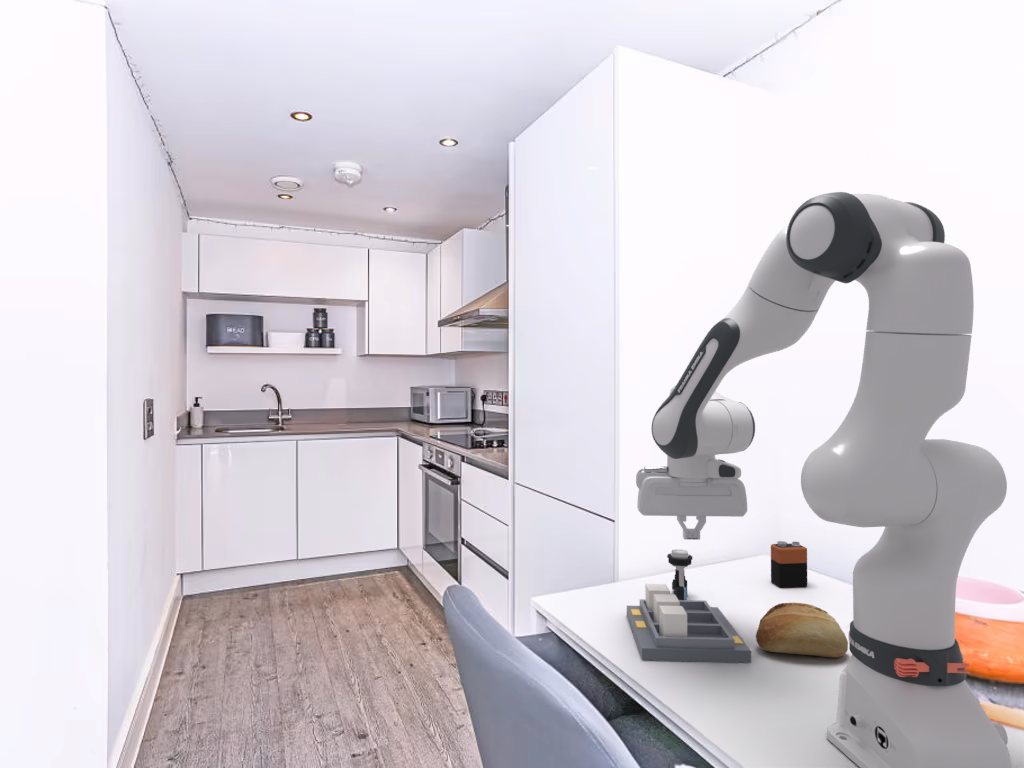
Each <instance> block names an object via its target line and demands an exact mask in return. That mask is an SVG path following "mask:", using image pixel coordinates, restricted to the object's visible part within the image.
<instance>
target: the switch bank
mask: <svg viewBox="0 0 1024 768" xmlns="http://www.w3.org/2000/svg"><path fill="white" fill-rule="evenodd" d="M679 602H680V606H682V607H683V608H684V610H685V612H686V613H687V637H667V636H660V634H659V623H654V611H649V610H647V608H646V598H645V599H642V598H641V599H639V605H626V617H627V621H628V623H629V626H630V629H631V633H632V635H633V638H634V642H635V644H636V646H637V647H636V648H637V650H638V653H639V656H640V658H641V661H656V662H657V661H662V662H663V661H664V662H665V661H666V662H670V661H671V662H701V663H702V662H703V663H704V662H708V663H709V662H710V663H744V664H745V663H748V664H749V663H750V664H751V663H752V650H751V648H750V647H749V646H748V645H747V643H746V642H745V641H744V640H743V638H742V637H741V636H740V634H739V633H738V632H737V631H736V629H735V627H734V626H733V625H732V624H731V622H730V621H729V620H728V619H727V617H726V616H725V615H724V613H723V612H722V611H721V609H719V607H718V606H710V604H709V603H708V601H707V600H699V599H698V600H694V599H693V600H691V599H687V600H679Z"/></svg>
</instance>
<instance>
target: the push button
mask: <svg viewBox="0 0 1024 768" xmlns="http://www.w3.org/2000/svg"><path fill="white" fill-rule="evenodd" d="M666 555H667V556H666V557H667V559H668V564H670V565H671V566H672V567H675V574H674V579H672V582H671V590H672V594H675V595H676V597H677V599H678V600H688V580H687V579H686V576H685V568H688V567H689V566H690V565H692V560H693V556H692V555H691V554H689V551H688V550H685V549H679V548H678V549H672V550H671V553H668V554H666Z"/></svg>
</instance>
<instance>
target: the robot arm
mask: <svg viewBox="0 0 1024 768" xmlns="http://www.w3.org/2000/svg"><path fill="white" fill-rule="evenodd" d="M945 237H946V234H945V228H944V225H943V223H942V221H941V220H940V218H939V216H937V215H936V214H935V213H934V211H932V210H930V209H929V208H927V207H925V206H923V205H921V204H918V203H917V202H916V203H915V202H911V201H901V200H897V199H894V198H889V197H887V196H883V195H880V194H870V193H848V192H844V191H835V192H828V193H823V194H819V195H816V196H814V197H811V198H808V200H806V201H804V202H803V203H801V205H800V206H799V207H798V208H797V209H796V210H795V212H794V213H793V215H792V216H791V218H790V220H789V223H788V226H786V227H783V228H782V229H781V230H779V232H778V233H777V234H776V235H775V237H774V238H773V239H772V241H771V242H770V244H769V245H768V246H767V249H766V250H765V251H764V254H763V255H762V257H761V258H760V260H759V262H758V263H757V266H756V268H755V270H754V271H753V273H752V276H751V278H750V280H749V282H748V284H747V287H746V289H745V290H744V292H743V294H742V295H741V297H740V299H738V301H737V303H736V304H735V305H734V307H732V309H731V310H730V311H729V312H728V313H727V314H726V316H724V317H723V318H722V319H720V320H719V321H718V322H717V323H715V324H714V325H713V326H712V327H711V328H710V329H709V331H708V332H707V334H706V335H705V336H704V338H703V339H702V341H701V343H700V344H699V346H698V348H697V349H696V351H695V353H694V355H693V356H692V357H691V360H690V362H688V364H687V366H686V368H685V370H684V372H683V374H682V375H681V377H680V378H679V380H678V382H677V383H676V385H674V386H673V387H672V388H671V389H670V392H669V396H668V397H667V398H666V399H664V401H663V402H662V403H661V404H660V406H659V407H658V409H656V412H655V414H654V415H653V418H652V422H651V434H652V435H651V436H652V439H653V441H654V443H655V444H656V446H657V447H658V448H659V449H660V450H661V451H662V452H663V453H664V454H665V455H666V456H667V459H666V460H667V461H666V462H667V463H666V466H643V468H641V469H639V470H638V471H637V472H636V476H635V477H636V478H635V482H636V483H635V484H636V487H637V489H638V494H637V502H636V503H637V507H636V508H637V511H638V512H639V513H640V514H641V515H642V516H645V517H647V516H650V517H652V516H654V517H655V516H656V517H657V516H658V517H660V516H661V517H669V516H670V517H676V520H677V522H678V524H679V525H680V527H681V529H682V538H683V540H694V541H695V540H698V541H699V540H701V531H702V530H703V528H704V526H705V525H706V523H707V517H730V518H731V517H739V518H740V517H741V518H742V517H744V516H745V515H746V513H747V512H748V498H747V491H746V486H745V484H744V483H743V481H742V480H741V479H739V478H741V476H742V469H741V468H740V467H739V466H738V465H736V464H733V463H731V462H730V463H729V462H727V461H725V460H723V459H719V458H718V459H717V458H716V455H717V456H718V455H727V454H728V455H729V454H736V453H739V452H743V451H746V450H747V449H748V448H749V447H750V445H752V443H753V440H754V437H755V433H756V421H755V418H754V416H753V413H752V411H751V410H750V408H749V407H748V406H747V405H746V404H745V403H743V402H741V401H736V400H733V399H731V398H728V397H725V396H723V395H722V394H720V393H718V392H717V389H718V387H719V386H720V384H721V382H722V381H723V380H724V378H725V376H727V374H728V373H729V372H730V371H732V370H733V369H735V368H736V367H737V366H739V365H742V364H744V363H746V362H749V361H751V360H753V359H755V358H758V357H762V356H765V355H769V354H772V353H776V352H777V353H778V352H780V351H783V350H785V349H787V348H789V347H791V346H793V345H795V344H796V343H797V342H799V340H800V339H802V337H803V336H804V335H805V334H806V332H807V331H808V330H809V328H810V327H811V325H812V324H813V321H814V320H815V318H816V316H817V314H818V313H819V310H820V308H821V306H822V305H823V302H824V300H825V298H826V295H827V293H828V292H829V290H830V288H831V287H832V286H833V284H835V282H839V283H842V284H850V283H852V282H853V281H856V282H858V283H859V284H860V285H862V286H863V288H864V289H865V291H866V293H867V298H868V312H867V314H868V315H867V322H866V329H865V330H866V331H865V338H864V339H865V340H864V349H863V355H862V356H863V357H862V364H861V372H860V377H859V383H858V386H857V391H856V395H855V397H854V400H853V402H852V404H851V406H850V408H849V411H847V414H846V416H845V418H844V419H843V421H842V422H841V424H840V425H839V426H838V428H837V430H835V431H834V433H833V434H832V435H831V436H830V437H829V438H828V439H827V440H826V441H825V442H823V444H821V445H820V446H818V447H816V448H815V449H813V451H812V452H811V453H810V454H809V455H808V456H807V458H806V460H805V461H804V463H803V466H802V468H801V471H800V473H801V474H800V486H801V487H800V488H801V491H802V495H803V498H804V500H805V501H806V503H807V506H808V507H809V508H810V509H811V510H812V512H813V513H814V514H815V515H816V516H817V517H818V518H820V519H822V520H823V521H826V522H828V523H835V524H839V525H843V526H844V525H845V526H850V527H856V528H857V527H858V528H878V527H879V528H880V527H881V528H882V527H883V528H884V530H883V532H882V533H881V536H880V537H879V539H878V541H877V542H876V544H875V545H874V546H873V547H872V548H870V549H869V550H868V551H866V553H864V554H862V556H860V557H859V558H858V559H857V561H856V563H855V565H854V567H853V571H852V604H853V605H852V609H853V610H852V611H853V612H852V615H853V617H852V619H853V620H852V621H850V623H849V630H848V641H849V642H848V650H849V652H850V653H851V656H850V659H849V661H848V663H847V665H846V666H845V667H844V668H843V670H842V671H841V673H840V675H839V683H838V684H839V685H838V696H837V707H836V708H837V709H836V720H835V721H836V723H833V724H832V725H830V726H828V728H827V729H826V738H827V739H828V741H829V742H830V743H832V745H834V746H835V747H836V748H838V750H840V751H841V752H842V753H843V754H844V755H845V756H846V757H847V758H849V759H850V760H851V761H852V762H854V764H856V765H857V766H858V767H859V768H1012V761H1011V755H1010V751H1009V748H1008V746H1007V745H1008V742H1009V738H1008V734H1007V731H1006V729H1005V726H1004V725H1002V724H1001V723H999V722H998V723H997V722H992V721H991V719H990V717H989V716H988V715H987V714H988V713H987V712H986V711H985V710H984V708H983V705H981V702H980V700H979V699H978V697H976V695H975V694H974V693H973V691H972V689H971V688H970V686H969V684H968V682H967V681H966V679H967V674H970V673H971V672H970V671H969V670H966V668H967V667H970V663H965V662H964V656H963V653H962V651H961V648H960V646H959V645H960V644H959V642H958V640H957V639H956V638H955V637H956V633H955V632H956V598H957V597H956V595H957V582H958V578H959V572H960V569H961V565H962V562H963V560H964V557H965V555H966V553H967V550H968V547H969V546H970V544H971V542H972V539H973V537H974V535H975V534H976V533H977V530H978V529H979V528H980V527H981V525H982V524H983V522H985V521H986V520H987V519H988V518H989V517H990V516H991V515H992V514H994V513H995V512H997V510H998V509H999V508H1001V507H1002V504H1003V503H1004V502H1005V498H1006V496H1007V490H1008V483H1007V477H1006V474H1005V471H1004V468H1003V466H1002V464H1001V463H1000V461H999V460H998V459H997V458H996V456H995V455H993V454H992V453H991V452H990V451H988V450H987V449H985V448H983V447H981V446H978V445H974V444H971V443H966V442H961V441H957V440H951V439H946V438H945V439H944V438H943V439H942V438H937V439H934V438H931V439H929V438H928V439H926V438H927V436H928V433H929V432H930V430H931V429H932V427H933V426H934V424H935V423H936V422H937V421H938V420H939V418H940V417H942V416H943V415H944V414H945V413H947V412H949V411H950V410H952V409H953V408H955V407H957V405H958V404H960V402H961V401H962V399H963V398H964V395H965V392H966V388H967V387H966V384H967V377H968V370H969V362H970V353H971V352H970V351H971V343H972V336H973V335H972V334H973V326H974V325H973V324H974V285H973V282H974V281H973V273H972V267H971V262H970V259H969V257H968V255H967V254H966V252H964V251H963V250H961V249H959V248H958V247H956V246H954V245H952V244H949V243H945V240H946V239H945ZM687 517H695V518H696V520H697V523H696V526H695V527H694V528H688V527H687V526H686V525H685V523H684V522H687Z"/></svg>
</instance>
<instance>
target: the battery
mask: <svg viewBox="0 0 1024 768" xmlns="http://www.w3.org/2000/svg"><path fill="white" fill-rule="evenodd" d="M770 582H771V584H774V585H776V586H777V587H778V588H781V589H786V588H787V589H793V588H807V587H808V548H807V547H805V546H803V545H801V544H800V542H799V541H792V543H788V542H787V541H781V540H778V541H776V543H772V544H770Z"/></svg>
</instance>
